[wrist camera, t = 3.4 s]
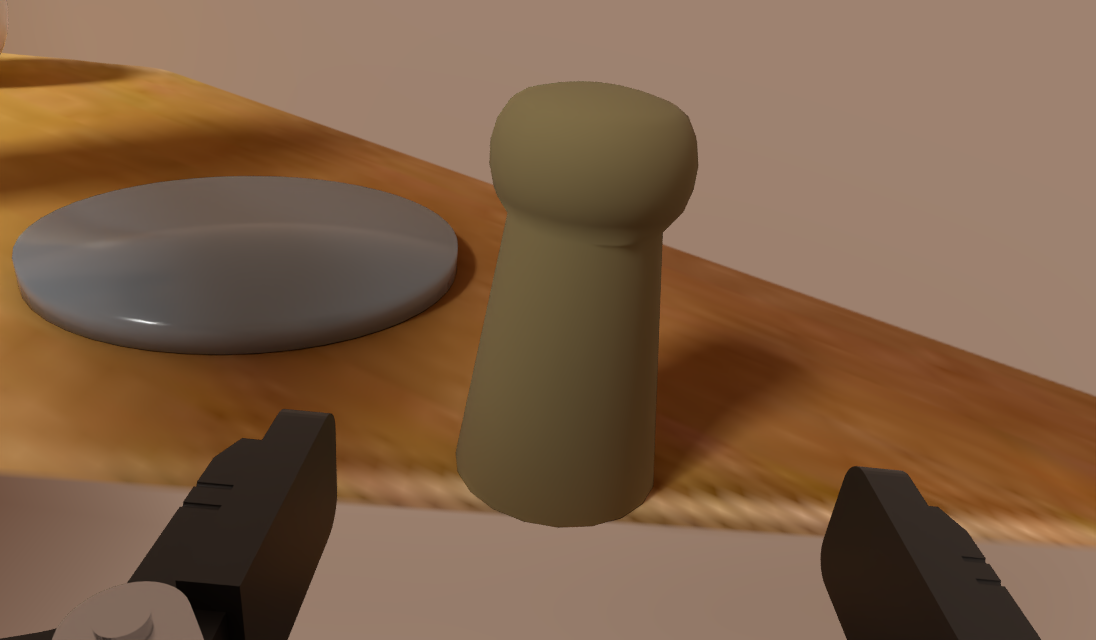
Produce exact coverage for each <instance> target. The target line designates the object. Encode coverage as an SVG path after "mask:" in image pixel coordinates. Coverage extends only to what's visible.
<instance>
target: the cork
mask: <svg viewBox="0 0 1096 640" xmlns="http://www.w3.org/2000/svg"><path fill="white" fill-rule="evenodd" d="M489 163H490V168H491V173H492V179H493V185H494V188H495V191H496V193H497V196H498V197H499V199H500V201H501V203H502V204H503V206H504V208H505V209H506V211H507V213H508V214H507V218H506V223H505V228H504V232H503V237H502V241H501V246H500V251H499V255H498V260H497V265H496V269H495V274H494V278H493V283H492V288H491V292H490V297H489V301H488V306H487V311H486V315H485V320H484V325H483V329H482V334H481V338H480V343H479V348H478V352H477V357H476V362H475V366H474V371H473V375H472V380H471V385H470V389H469V394H468V398H467V403H466V408H465V412H464V417H463V422H462V426H461V431H460V435H459V440H458V445H457V449H456V459H457V469H458V473H459V475H460V476H461V478H462V479H463V481H464V482H465V484H466V485H467V487H468V489H469V490H470V492H472V493H473V494H474V495H476V496H477V497H478V498H480V499H481V500H482V501H483V502H485V503H486V504H487V505H489V506H490V507H491V508H493V509H495V510H497V511H499V512H502V513H504V514H507V515H509V516H511V517H514V518H516V519H519V520H521V521H524V522H530V523H535V524H541V525H546V526H552V527H584V526H595V525H598V524H601V523H605V522H608V521H612V520H615V519H619V518H622V517H623V516H625V515H626V514H628V513H629V512H631V511H632V510H634V509H635V508H637V507H638V506H640V505H641V504H642V503H643V502H644V500H645V498H646V497H647V495H648V494H649V492H650V490H651V489H652V487H653V478H654V451H655V425H656V398H657V372H658V345H659V319H660V292H661V266H662V239H663V232H664V231H665V230H666V229H667V228H668V227H669V226H670V225H671V224H672V223H673V222H674V221H675V220H676V219H677V218H678V217H679V216H680V215H681V214H682V213H683V211H684V209H685V207H686V205H687V203H688V200H689V199H690V196H691V194H692V192H693V190H694V185H695V180H696V175H697V170H698V152H697V140H696V135H695V133H694V130H693V127H692V125H691V122H690V120H689V117H688V116H687V115H686V114H685V113H684V112H683V111H681V109H679V108H678V107H677V106H676V105H674V104H673V103H671V102H669V101H667V100H664V99H661V98H659V97H656V96H654V95H651V94H649V93H645V92H643V91H640V90H636V89H632V88H628V87H624V86H620V85H615V84H608V83H601V82H584V81H582V82H580V81H579V82H558V83H551V84H543V85H537V86H533V87H528V88H526V89H524V90H523V91H521V92H519V93H517V94H515V95H514V96H513V97H512V98H511V99H510V100H509V101H508V103H507V104H506V106H505V107H504V108H503V110H502V112H501V113H500V114H499V116H498V117H497V120H496V123H495V127H494V130H493V133H492V136H491V141H490V161H489Z"/></svg>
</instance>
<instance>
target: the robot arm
mask: <svg viewBox="0 0 1096 640" xmlns="http://www.w3.org/2000/svg"><path fill="white" fill-rule="evenodd" d="M336 502H337V474H336V431H335V419H334V416H333V415H332V414H330V413H320V412H310V411H300V410H289V409H283V410H281V411H280V412H279V413H278V415H277V417H276V418H275V420H274V421H273V423H272V425H271V426H270V428H269V430H268V431H267V433H266V434H265V436H264V438H263V439H262V440H256V439H246V438H242V439H240V440H239V441H237V442H236V443H234V444H233V445H231V446H230V447H229V448H227V449H226V450H224V451H223V452H221V453H220V454H218V455H217V456H215V457H214V458H213V460H212V461H211V462H210V464H209V465H208V467H207V468H206V470H205V471H204V473H203V474H202V475H201V477H200V478H199V480H198V481H197V486H196V487H193V488H192V490H191V491H190V493H189V494H188V496H187V497H186V499H185V500H184V502H183V506H182V507H179V509H178V510H177V512H176V513H175V515H174V516H173V518H172V519H171V520H170V522H169V523H168V525H167V526H166V528H165V529H164V530H163V532H162V533H161V535H160V536H159V538H158V539H157V541H156V542H155V544H154V545H153V546H152V548H151V549H150V551H149V552H148V554H147V555H146V557H145V558H144V559H143V561H142V562H141V564H140V565H139V567H138V568H137V570H136V571H135V572H134V574H133V575H132V577H131V578H130V580H129V581H128V583H127V584H122V585H119V586H115V587H112V588H109V589H106V590H104V591H102V592H99V593H98V594H96V595H94V596H92V597H90V598H88V599H87V600H85V601H84V602H82V603H80V604H79V605H78V606H77V607H76V608H74V609H73V610H72V611H71V612H70V613H69V614H68V615H67V616H66V617H65V618H64V619H63V620H62V622H61V623H60V625H59V626H58V627H57V628H56V629H53V630H49V631H43V632H39V633H33V634H27V635H21V636H14V637H8V638H2V639H0V640H287V639H288V637H289V635H290V632H291V630H292V627H293V625H294V622H295V620H296V617H297V615H298V612H299V610H300V607H301V605H302V603H303V600H304V598H305V595H306V592H307V590H308V588H309V585H310V583H311V580H312V578H313V575H314V573H315V570H316V568H317V565H318V563H319V560H320V558H321V555H322V553H323V550H324V548H325V545H326V543H327V540H328V538H329V535H330V532H331V529H332V526H333V521H334V516H335V510H336ZM821 571H822V576H823V581H824V584H825V586H826V589H827V591H828V594H829V596H830V599H831V601H832V603H833V606H834V609H835V611H836V613H837V616H838V619H839V621H840V623H841V626H842V628H843V631H844V633H845V636H846V638H847V640H1041V639H1040V637H1039V636H1038V634H1037V633H1036V631H1035V630H1034V628H1033V627H1032V626H1031V624H1030V623H1029V621H1028V620H1027V618H1026V617H1025V616H1024V614H1023V613H1022V611H1021V609H1020V608H1019V607H1018V605H1017V604H1016V602H1015V601H1014V599H1013V598H1012V596H1011V595H1010V594H1009V592H1008V590H1007V589H1006V588H1005V587H1003V586H1001V584H1000V583H1001V580H1000V579H999V578H998V576H997V574H996V573H995V572H994V570H993V569H992V567H991V566H990V564H986V563H985V557H984V555H983V554H982V553H981V551H980V550H979V548H978V547H977V545H976V544H975V542H974V541H973V539H972V538H971V536H970V535H969V534H968V532H967V531H966V530H965V529H964V528H962V527H961V526H960V525H959V524H958V523H956V522H955V521H954V520H953V519H952V518H950V517H949V516H948V515H947V514H946V513H944V512H943V511H942V510H941V509H940V508H938V507H933V506H928V505H927V503H926V501H925V500H924V498H923V497H922V495H921V494H920V492H919V491H918V489H917V488H916V486H915V484H914V483H913V481H912V480H911V478H910V477H909V476H908V474H907V473H905V472H903V471H899V470H888V469H878V468H868V467H858V466H854V467H851V468H850V469H849V470H848V472H847V473H846V475H845V478H844V480H843V483H842V486H841V489H840V492H839V495H838V498H837V501H836V504H835V507H834V510H833V513H832V516H831V519H830V522H829V525H828V528H827V531H826V534H825V537H824V540H823V543H822V549H821Z"/></svg>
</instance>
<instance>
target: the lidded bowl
mask: <svg viewBox="0 0 1096 640" xmlns="http://www.w3.org/2000/svg"><path fill="white" fill-rule="evenodd" d="M7 31H8V4H7V0H0V54H1V52H2V50H3V48H4V45H5V41H6V37H7Z"/></svg>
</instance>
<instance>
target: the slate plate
mask: <svg viewBox="0 0 1096 640" xmlns="http://www.w3.org/2000/svg"><path fill="white" fill-rule="evenodd" d="M457 252H458V244H457V237H456V235H455V233H454V230H453V229H452V228H451V227H450V225H449V224H448V223H447V222H446V221H445V220H444V219H443V218H441V217H440V216H439V215H438V214H436V213H434V212H433V211H431V210H429V209H428V208H426V207H424V206H422V205H420V204H417V203H415V202H413V201H411V200H408V199H405V198H402V197H400V196H397V195H394V194H390V193H387V192H383V191H380V190H375V189H371V188H367V187H363V186H357V185H352V184H346V183H340V182H333V181H326V180H317V179H306V178H294V177H275V176H227V177H206V178H194V179H183V180H174V181H166V182H158V183H152V184H146V185H140V186H135V187H130V188H125V189H120V190H115V191H111V192H108V193H104V194H100V195H96V196H93V197H90V198H87V199H84V200H81V201H77V202H74V203H72V204H70V205H67V206H65V207H62V208H60V209H57V210H55V211H53V212H52V213H50V214H48V215H46V216H44V217H42V218H40V219H39V220H38V221H36V222H35V223H33V224H32V225H31V226H29V227H28V228H27V229H26V230H25V231H24V232H23V233H22V234H21V235H20V236H19V237H18V239H17V241H16V243H15V245H14V247H13V255H12V259H13V264H14V269H15V273H16V278H17V282H18V287H19V290H20V293H21V295H22V298H23V300H24V301H25V302H26V303H27V305H28V306H29V307H30V308H31V309H32V310H33V311H34V312H35V313H37V314H38V315H40V316H41V317H42V318H44V319H45V320H46V321H48V322H50V323H52V324H54V325H56V326H58V327H60V328H62V329H64V330H67V331H69V332H72V333H75V334H78V335H81V336H84V337H87V338H89V339H93V340H98V341H102V342H106V343H110V344H114V345H118V346H124V347H131V348H137V349H143V350H150V351H161V352H172V353H184V354H249V353H264V352H275V351H286V350H294V349H301V348H307V347H314V346H320V345H326V344H331V343H335V342H340V341H344V340H349V339H353V338H357V337H360V336H364V335H367V334H370V333H374V332H377V331H380V330H383V329H386V328H388V327H391V326H393V325H396V324H398V323H401V322H403V321H405V320H407V319H409V318H411V317H413V316H415V315H417V314H419V313H421V312H423V311H424V310H426V309H427V308H429V307H430V306H432V305H433V304H434V303H436V302H437V301H438V300H439V299H440V298H441V297H442V296H443V295H444V294H445V293H446V292H447V291H448V290H449V288H450V287H451V285H452V283H453V282H454V279H455V275H456V271H457Z"/></svg>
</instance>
